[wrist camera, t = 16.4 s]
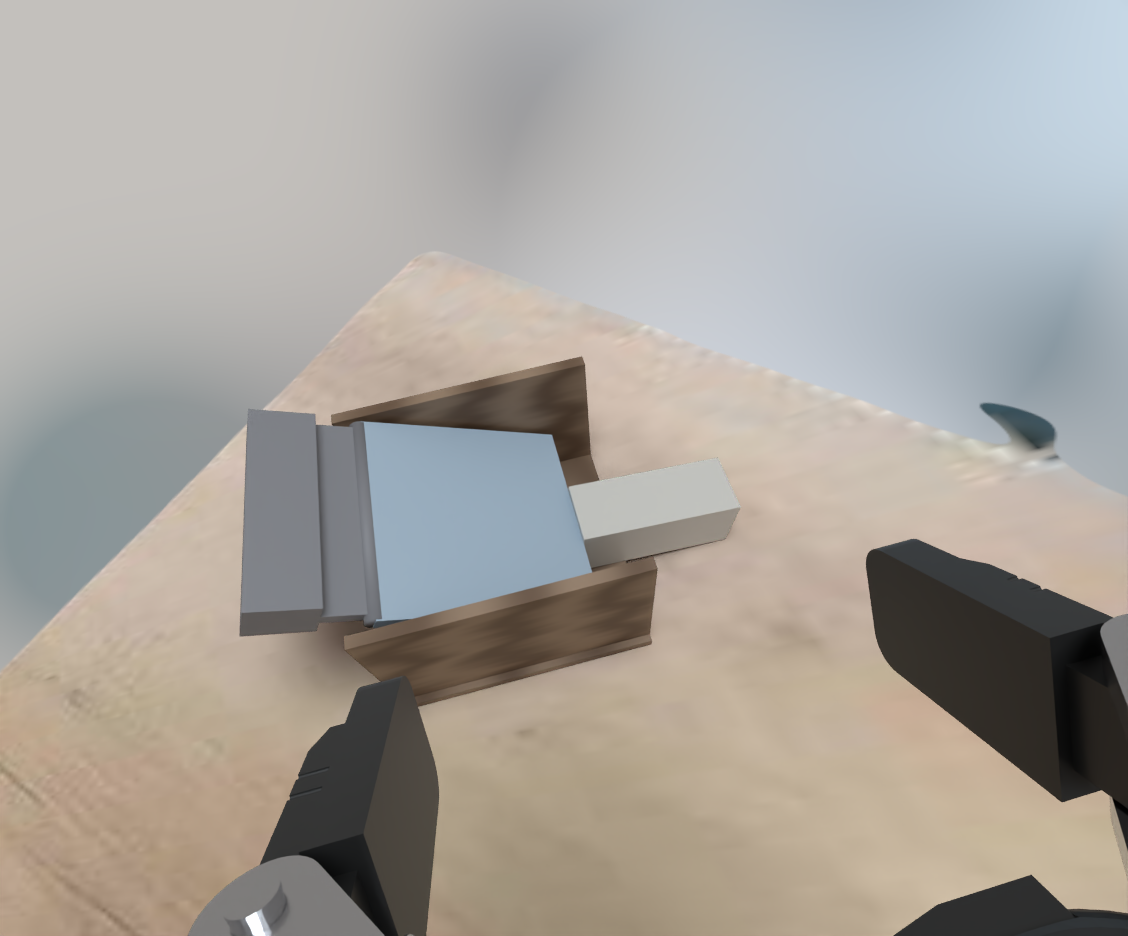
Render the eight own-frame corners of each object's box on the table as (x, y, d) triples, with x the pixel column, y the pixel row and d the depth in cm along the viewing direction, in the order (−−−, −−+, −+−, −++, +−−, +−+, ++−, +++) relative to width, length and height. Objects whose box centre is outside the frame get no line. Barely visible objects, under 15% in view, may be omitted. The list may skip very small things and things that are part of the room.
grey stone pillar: (584, 539, 46) (740, 507, 48) (568, 486, 49) (718, 457, 50) (581, 570, 50) (725, 539, 52) (566, 519, 53) (704, 491, 55)
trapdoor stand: (405, 709, 47) (344, 658, 36) (383, 497, 57) (330, 409, 46) (651, 643, 48) (660, 576, 38) (587, 447, 58) (580, 351, 48)
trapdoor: (239, 645, 36) (241, 622, 33) (246, 432, 44) (248, 403, 42) (590, 619, 45) (608, 599, 43) (542, 449, 54) (556, 426, 51)
